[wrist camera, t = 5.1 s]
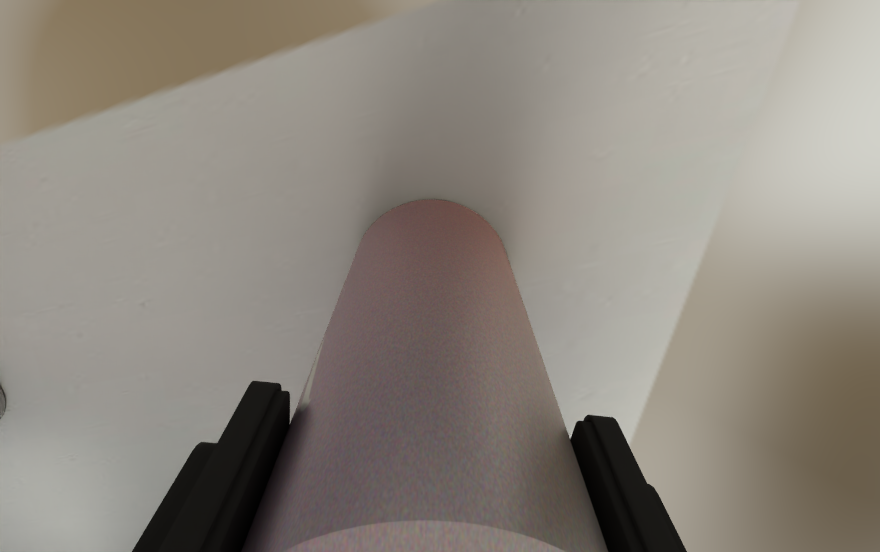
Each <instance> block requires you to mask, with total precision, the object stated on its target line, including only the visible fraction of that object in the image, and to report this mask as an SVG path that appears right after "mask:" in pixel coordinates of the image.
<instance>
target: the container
mask: <svg viewBox="0 0 880 552" xmlns="http://www.w3.org/2000/svg"><path fill="white" fill-rule="evenodd" d="M4 410H5V399H4V395H3V392H2V390H1V388H0V419H1V417H2V416H3V413H4Z"/></svg>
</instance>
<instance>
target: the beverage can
mask: <svg viewBox="0 0 880 552" xmlns="http://www.w3.org/2000/svg"><path fill="white" fill-rule="evenodd" d="M241 552H608V549H607V547H606V544H605V541H604V538H603V535H602V532H601V529H600V526H599V523H598V520H597V517H596V514H595V511H594V509H593V506H592V503H591V500H590V497H589V494H588V491H587V488H586V485H585V482H584V479H583V476H582V473H581V471H580V468H579V465H578V462H577V459H576V456H575V453H574V450H573V447H572V444H571V441H570V438H569V435H568V433H567V430H566V427H565V424H564V421H563V418H562V415H561V412H560V409H559V406H558V403H557V400H556V397H555V395H554V392H553V389H552V386H551V383H550V380H549V377H548V374H547V371H546V368H545V365H544V362H543V359H542V356H541V354H540V351H539V348H538V345H537V342H536V339H535V336H534V333H533V330H532V327H531V324H530V321H529V318H528V316H527V313H526V310H525V307H524V304H523V301H522V298H521V295H520V292H519V289H518V286H517V283H516V280H515V278H514V275H513V272H512V269H511V266H510V263H509V260H508V257H507V254H506V251H505V248H504V246H503V243H502V241H501V239H500V238H499V236H498V234H497V233H496V231H495V230H494V229H493V227H492V226H491V225H490V224H489V223H488V222H487V221H486V220H485V219H484V218H483V217H481V216H480V215H479V214H477V213H476V212H474V211H472V210H471V209H469V208H467V207H464V206H462V205H459V204H456V203H453V202H449V201H444V200H430V199H429V200H418V201H413V202H409V203H405V204H402V205H400V206H397V207H395V208H393V209H391V210H390V211H388V212H386V213H385V214H383V215H382V216H381V217H380V218H378V219H377V220H376V221H375V222H374V223H373V224H372V225H371V226H370V227H369V229H368V230H367V231H366V233H365V234H364V236H363V238H362V240H361V242H360V244H359V246H358V249H357V252H356V254H355V257H354V259H353V262H352V264H351V267H350V270H349V272H348V275H347V278H346V280H345V283H344V285H343V288H342V291H341V293H340V296H339V298H338V301H337V304H336V306H335V309H334V311H333V314H332V317H331V319H330V322H329V324H328V327H327V330H326V332H325V335H324V337H323V340H322V343H321V345H320V348H319V350H318V353H317V356H316V358H315V361H314V363H313V366H312V369H311V371H310V374H309V376H308V379H307V382H306V384H305V387H304V389H303V392H302V395H301V397H300V400H299V402H298V405H297V408H296V410H295V413H294V415H293V418H292V421H291V423H290V426H289V428H288V431H287V434H286V436H285V439H284V441H283V444H282V447H281V449H280V452H279V454H278V457H277V460H276V462H275V465H274V467H273V470H272V473H271V475H270V478H269V480H268V483H267V486H266V488H265V491H264V493H263V496H262V499H261V501H260V504H259V506H258V509H257V512H256V514H255V517H254V519H253V522H252V525H251V527H250V530H249V532H248V535H247V538H246V540H245V543H244V545H243V548H242V551H241Z"/></svg>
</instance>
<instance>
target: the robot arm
mask: <svg viewBox="0 0 880 552" xmlns="http://www.w3.org/2000/svg"><path fill="white" fill-rule="evenodd" d="M289 426H290V394H289V392H288V391H281V385H280V384H279V383H270V382H260V381H252V382H251V383H250V385H249V387H248V388H247V390H246V392H245V394H244V396H243V397H242V399H241V401H240V403H239V405H238V407H237V408H236V410H235V412H234V414H233V416H232V418H231V419H230V421H229V423H228V425H227V427H226V428H225V430H224V432H223V434H222V436H221V438H220V439H219V441H218V443H207V442H201V443H199V444H198V445H197V446H196V447H195V448H194V450H193V451H192V453H191V454H190V456H189V458H188V459H187V461H186V463H185V464H184V466H183V468H182V469H181V471H180V473H179V474H178V476H177V478H176V479H175V481H174V483H173V484H172V486H171V488H170V489H169V491H168V493H167V494H166V496H165V498H164V499H163V501H162V503H161V504H160V506H159V507H158V509H157V511H156V512H155V514H154V516H153V517H152V519H151V521H150V522H149V524H148V526H147V527H146V529H145V531H144V532H143V534H142V536H141V537H140V539H139V541H138V542H137V544H136V546H135V547H134V549H133V551H132V552H241V551H242V548H243V545H244V543H245V540H246V538H247V535H248V532H249V530H250V527H251V525H252V522H253V519H254V517H255V514H256V512H257V509H258V506H259V504H260V501H261V499H262V496H263V493H264V491H265V488H266V486H267V483H268V480H269V478H270V475H271V473H272V470H273V467H274V465H275V462H276V460H277V457H278V454H279V452H280V449H281V447H282V444H283V441H284V439H285V436H286V434H287V431H288V428H289ZM570 441H571V444H572V447H573V450H574V453H575V456H576V459H577V462H578V465H579V468H580V471H581V473H582V476H583V479H584V482H585V485H586V488H587V491H588V494H589V497H590V500H591V503H592V506H593V509H594V511H595V514H596V517H597V520H598V523H599V526H600V529H601V532H602V535H603V538H604V541H605V544H606V547H607V549H608V552H687V551H686V549H685V547H684V545H683V543H682V541H681V539H680V537H679V535H678V533H677V531H676V529H675V527H674V525H673V523H672V521H671V519H670V517H669V515H668V513H667V511H666V509H665V507H664V505H663V503H662V501H661V499H660V497H659V495H658V493H657V492H656V490H655V489H654V487H652V486H651V485H650V484H647V482H646V480H645V478H644V476H643V474H642V472H641V470H640V468H639V466H638V464H637V462H636V460H635V458H634V456H633V453H632V452H631V449H630V447H629V445H628V443H627V441H626V439H625V437H624V435H623V433H622V431H621V429H620V427H619V424H618V422H617V421H616V419H614V418H613V417H603V416H593V415H587V416H586V417H585V418H584V421H578V422H577V423H576V425H575V428H574V431H573V434H572V437H571V440H570Z"/></svg>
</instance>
